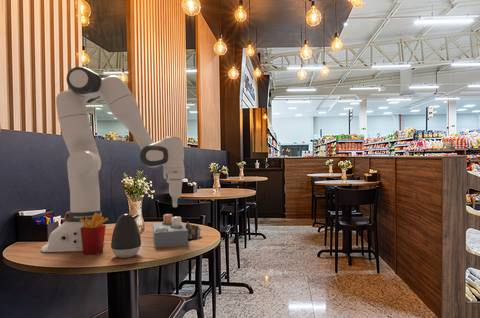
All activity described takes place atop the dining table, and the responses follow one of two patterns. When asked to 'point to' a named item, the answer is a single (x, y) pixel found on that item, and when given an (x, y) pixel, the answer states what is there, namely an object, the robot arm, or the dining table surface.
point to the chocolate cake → (193, 231)
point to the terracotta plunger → (167, 219)
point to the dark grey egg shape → (126, 237)
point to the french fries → (93, 235)
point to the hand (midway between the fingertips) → (175, 206)
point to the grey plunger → (161, 229)
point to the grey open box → (170, 236)
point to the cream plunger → (176, 222)
